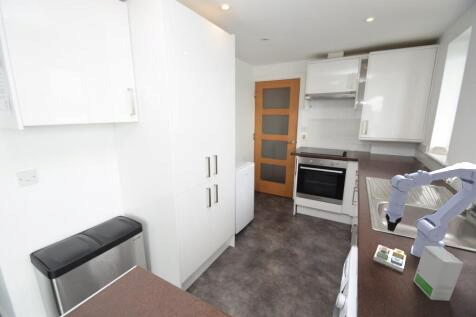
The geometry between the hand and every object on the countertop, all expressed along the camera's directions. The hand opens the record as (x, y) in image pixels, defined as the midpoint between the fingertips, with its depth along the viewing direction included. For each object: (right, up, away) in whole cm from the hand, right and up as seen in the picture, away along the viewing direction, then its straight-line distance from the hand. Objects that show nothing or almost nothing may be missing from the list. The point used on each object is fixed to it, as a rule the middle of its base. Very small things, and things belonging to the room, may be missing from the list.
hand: (390, 230), depth 95 cm
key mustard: (0, -9, -5) cm, 10 cm away
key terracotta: (-4, -10, -1) cm, 10 cm away
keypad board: (-4, -11, -5) cm, 13 cm away
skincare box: (0, -15, -20) cm, 25 cm away
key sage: (-7, -9, -5) cm, 13 cm away
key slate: (-4, -11, -8) cm, 14 cm away
